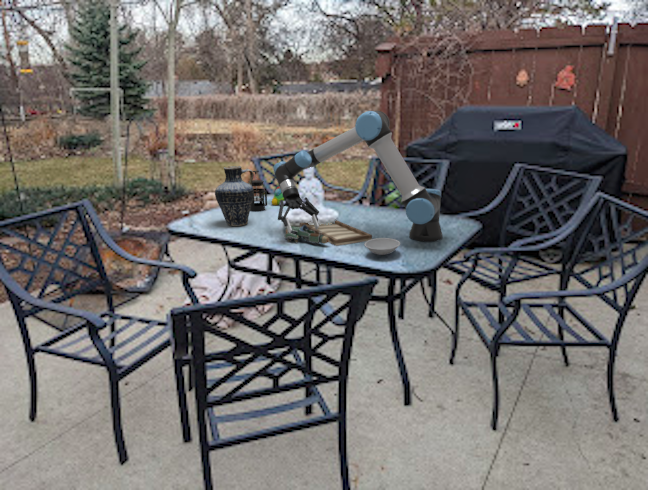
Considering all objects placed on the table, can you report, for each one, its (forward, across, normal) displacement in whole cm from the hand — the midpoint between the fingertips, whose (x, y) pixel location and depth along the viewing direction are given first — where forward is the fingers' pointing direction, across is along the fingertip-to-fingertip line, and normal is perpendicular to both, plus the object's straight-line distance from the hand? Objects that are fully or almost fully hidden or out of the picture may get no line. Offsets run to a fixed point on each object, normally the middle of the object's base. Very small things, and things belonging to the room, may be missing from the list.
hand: (304, 229), depth 225 cm
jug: (-29, +16, -38) cm, 51 cm away
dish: (+27, -20, +18) cm, 39 cm away
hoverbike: (+5, -1, -4) cm, 7 cm away
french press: (-48, -6, -58) cm, 75 cm away
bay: (-1, -19, -9) cm, 21 cm away
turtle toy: (-56, -29, -65) cm, 90 cm away
